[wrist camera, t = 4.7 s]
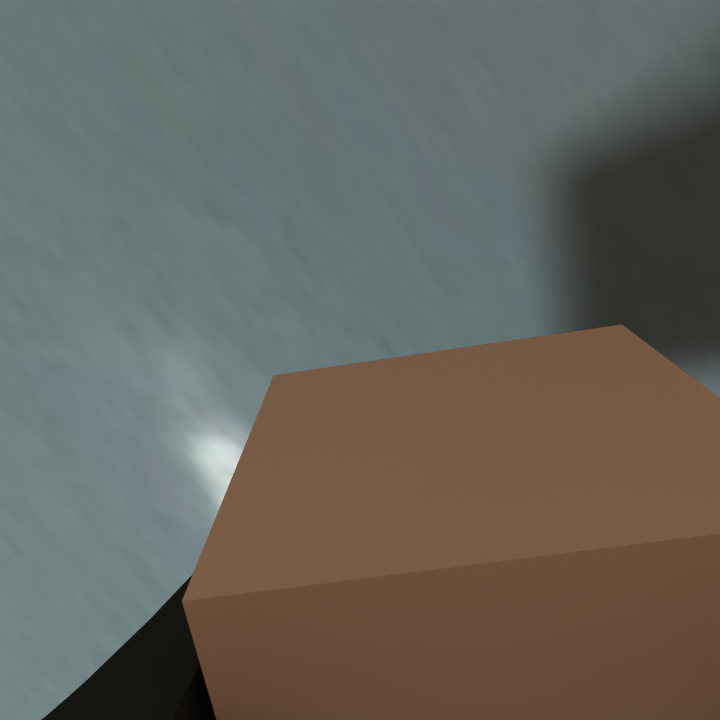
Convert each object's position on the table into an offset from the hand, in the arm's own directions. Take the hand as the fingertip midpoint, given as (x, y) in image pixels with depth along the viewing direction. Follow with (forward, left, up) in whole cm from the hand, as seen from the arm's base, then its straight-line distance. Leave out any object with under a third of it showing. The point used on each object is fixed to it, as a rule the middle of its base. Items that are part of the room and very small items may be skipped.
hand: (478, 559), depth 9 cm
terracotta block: (0, 0, -2) cm, 2 cm away
